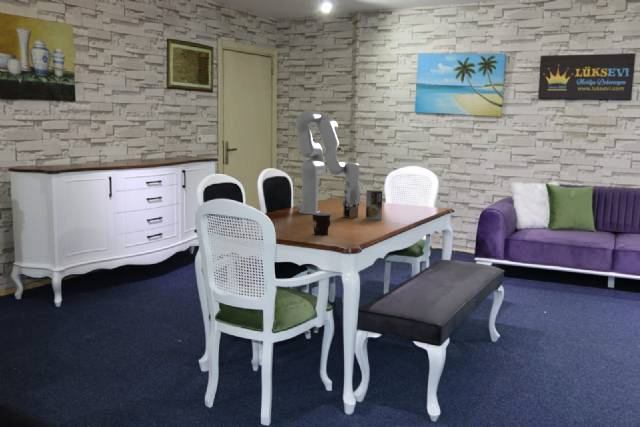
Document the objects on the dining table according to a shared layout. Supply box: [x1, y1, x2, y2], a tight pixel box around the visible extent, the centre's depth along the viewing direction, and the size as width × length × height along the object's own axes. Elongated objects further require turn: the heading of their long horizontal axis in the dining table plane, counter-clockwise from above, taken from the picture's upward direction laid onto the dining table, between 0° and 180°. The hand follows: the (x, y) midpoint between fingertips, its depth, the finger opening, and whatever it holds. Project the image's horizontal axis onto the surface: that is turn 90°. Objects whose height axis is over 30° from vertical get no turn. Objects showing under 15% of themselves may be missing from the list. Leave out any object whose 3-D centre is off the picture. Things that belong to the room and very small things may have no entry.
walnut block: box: [342, 205, 359, 219], centre depth 344 cm, size 6×6×6 cm
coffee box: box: [365, 189, 383, 221], centre depth 339 cm, size 9×6×16 cm
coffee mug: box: [312, 212, 331, 237], centre depth 284 cm, size 12×9×10 cm
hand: (350, 215), depth 344 cm, fingers closed on walnut block, 6 cm apart
